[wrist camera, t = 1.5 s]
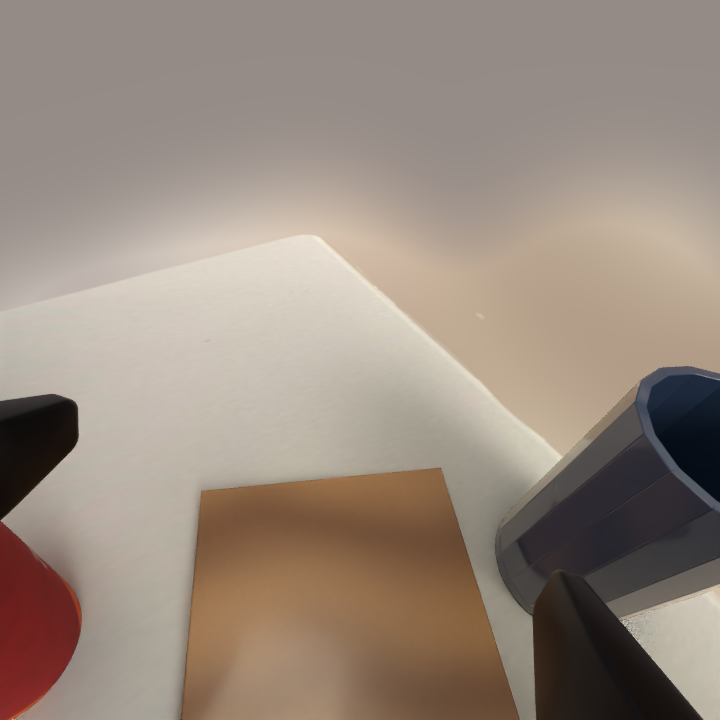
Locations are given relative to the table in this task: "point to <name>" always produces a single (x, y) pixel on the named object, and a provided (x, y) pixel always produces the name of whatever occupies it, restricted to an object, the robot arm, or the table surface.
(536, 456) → the table surface
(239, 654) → the wooden board
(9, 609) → the paper cup
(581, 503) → the tumbler
